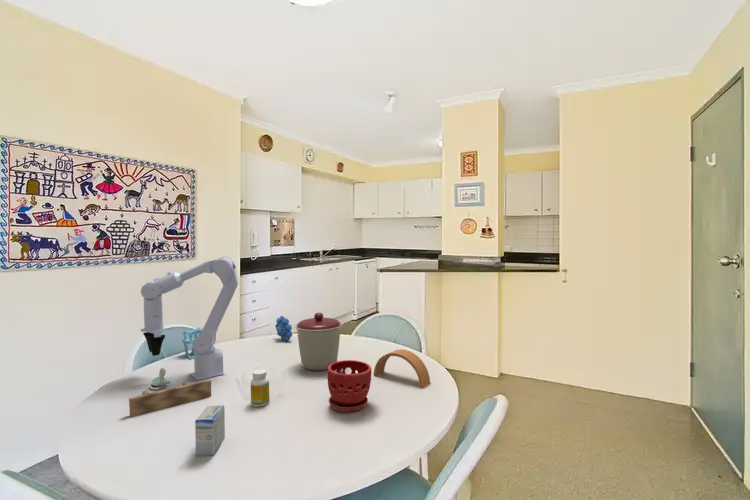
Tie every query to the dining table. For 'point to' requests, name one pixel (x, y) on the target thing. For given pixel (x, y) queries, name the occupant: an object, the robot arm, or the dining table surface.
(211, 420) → the medicine box
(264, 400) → the supplement bottle
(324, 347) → the canister
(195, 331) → the chair
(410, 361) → the arch
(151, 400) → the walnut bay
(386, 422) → the dining table surface
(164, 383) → the pacifier
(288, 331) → the grapes
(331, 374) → the plant pot
